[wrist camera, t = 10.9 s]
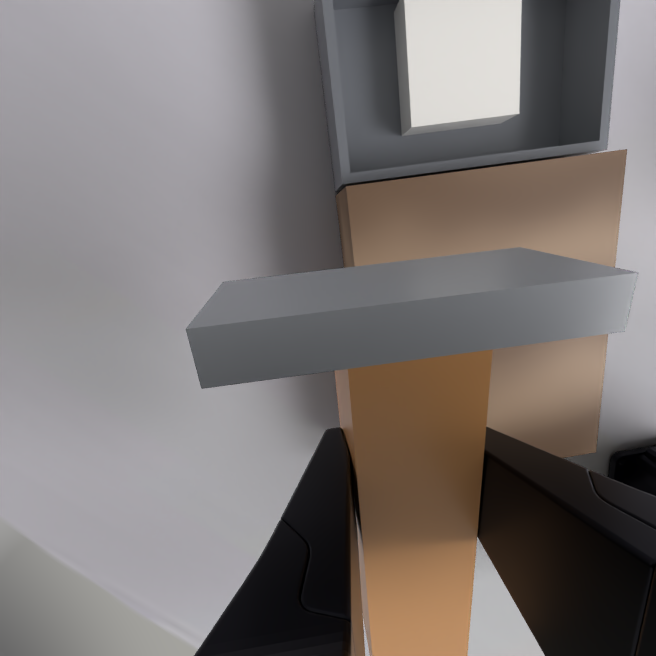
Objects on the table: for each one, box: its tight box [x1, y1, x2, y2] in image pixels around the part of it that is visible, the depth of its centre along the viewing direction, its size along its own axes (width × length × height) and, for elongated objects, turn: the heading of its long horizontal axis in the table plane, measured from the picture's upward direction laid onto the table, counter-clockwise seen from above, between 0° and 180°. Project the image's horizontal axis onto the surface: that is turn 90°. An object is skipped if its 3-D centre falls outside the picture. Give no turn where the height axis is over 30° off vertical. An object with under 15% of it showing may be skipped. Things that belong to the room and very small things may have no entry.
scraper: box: [186, 247, 638, 656], centre depth 8 cm, size 10×7×3 cm
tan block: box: [336, 149, 627, 458], centre depth 18 cm, size 15×12×4 cm
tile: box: [394, 0, 522, 136], centre depth 16 cm, size 5×5×2 cm
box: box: [314, 0, 620, 192], centre depth 16 cm, size 8×12×3 cm, turn 97°
